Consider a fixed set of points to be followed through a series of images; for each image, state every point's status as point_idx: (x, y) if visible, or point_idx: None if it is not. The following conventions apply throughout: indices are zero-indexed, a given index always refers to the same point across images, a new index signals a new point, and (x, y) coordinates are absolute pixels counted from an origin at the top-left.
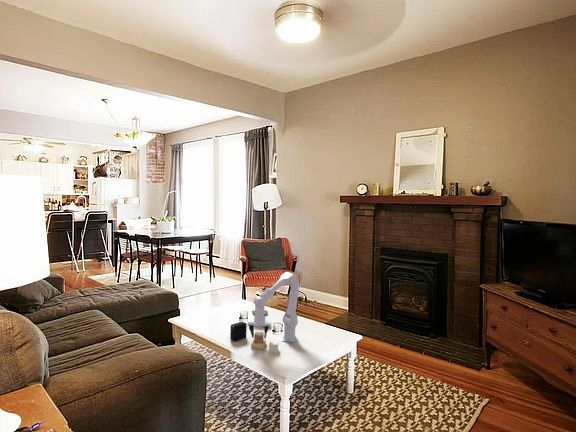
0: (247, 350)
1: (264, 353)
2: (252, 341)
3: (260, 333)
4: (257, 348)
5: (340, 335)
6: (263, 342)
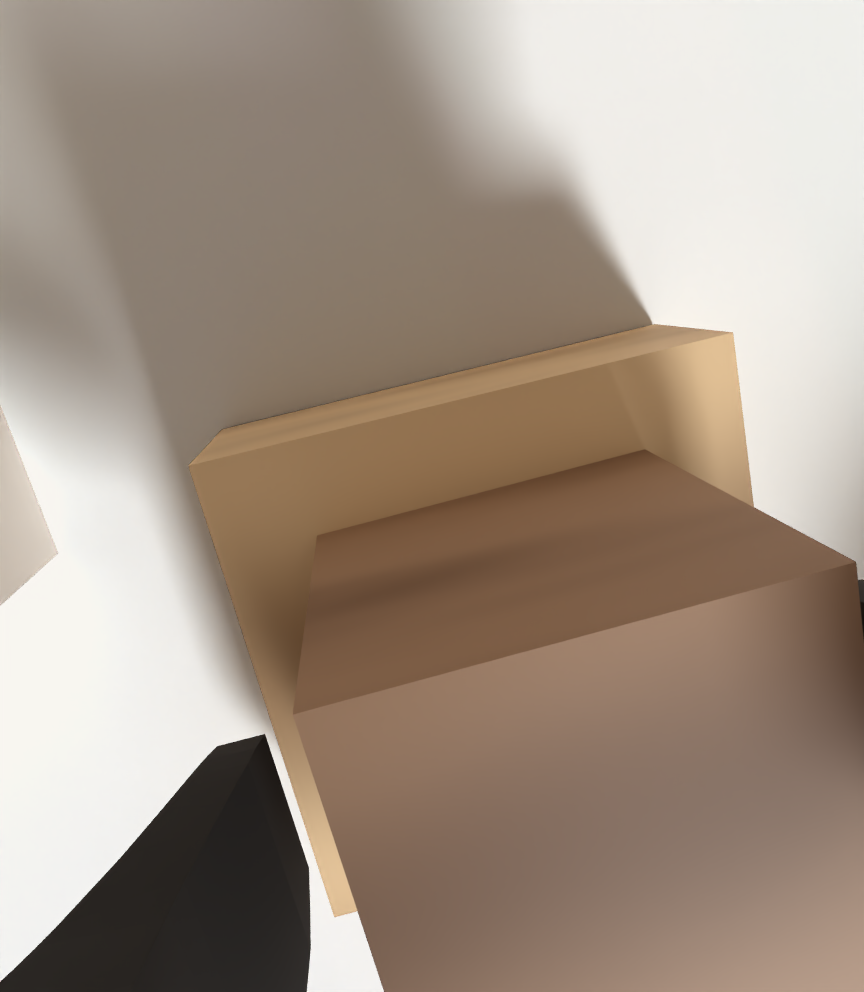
0: (710, 110)
1: (38, 101)
2: None
3: (547, 930)
4: (442, 377)
5: None
6: None
